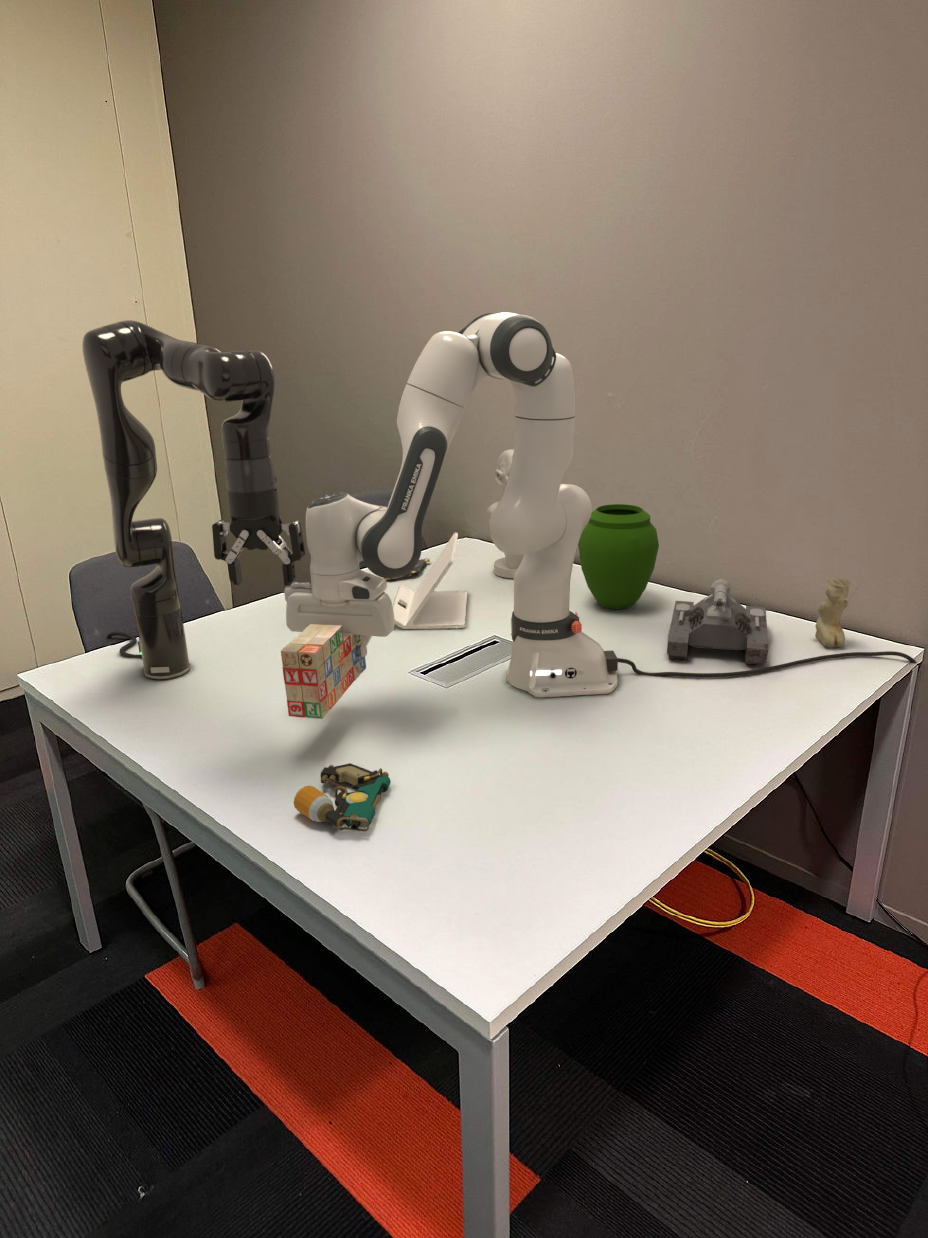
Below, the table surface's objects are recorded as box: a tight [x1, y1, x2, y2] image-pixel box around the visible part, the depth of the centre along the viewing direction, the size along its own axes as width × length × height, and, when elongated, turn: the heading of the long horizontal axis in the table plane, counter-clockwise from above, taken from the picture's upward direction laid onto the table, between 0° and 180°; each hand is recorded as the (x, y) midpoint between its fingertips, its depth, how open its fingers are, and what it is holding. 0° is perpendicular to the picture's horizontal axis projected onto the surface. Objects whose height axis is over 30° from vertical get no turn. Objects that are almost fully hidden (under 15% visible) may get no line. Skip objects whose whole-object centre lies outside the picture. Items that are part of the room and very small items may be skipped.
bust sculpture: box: [485, 448, 524, 579], centre depth 231 cm, size 16×24×35 cm
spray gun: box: [293, 762, 392, 833], centre depth 132 cm, size 4×17×15 cm
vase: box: [577, 503, 660, 610], centre depth 210 cm, size 20×20×24 cm
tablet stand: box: [392, 531, 468, 630], centre depth 211 cm, size 18×25×17 cm
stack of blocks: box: [280, 624, 367, 720], centre depth 151 cm, size 21×6×12 cm, turn 166°
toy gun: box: [383, 558, 431, 581], centre depth 244 cm, size 3×19×10 cm
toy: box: [666, 578, 770, 666], centre depth 186 cm, size 25×20×15 cm
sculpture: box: [814, 576, 852, 648], centre depth 185 cm, size 6×7×15 cm
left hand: (263, 584), depth 138 cm, fingers open, 8 cm apart
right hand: (343, 654), depth 158 cm, fingers closed on stack of blocks, 6 cm apart
